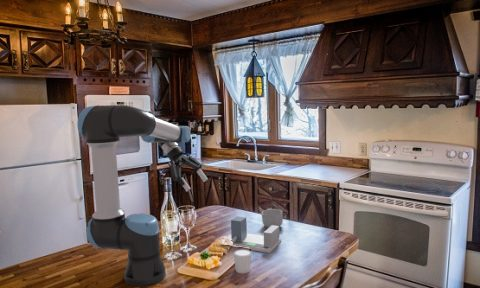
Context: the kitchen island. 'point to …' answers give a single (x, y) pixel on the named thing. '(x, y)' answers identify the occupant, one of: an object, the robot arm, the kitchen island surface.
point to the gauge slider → (238, 228)
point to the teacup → (272, 217)
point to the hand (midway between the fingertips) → (197, 185)
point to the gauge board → (261, 240)
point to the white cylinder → (242, 260)
